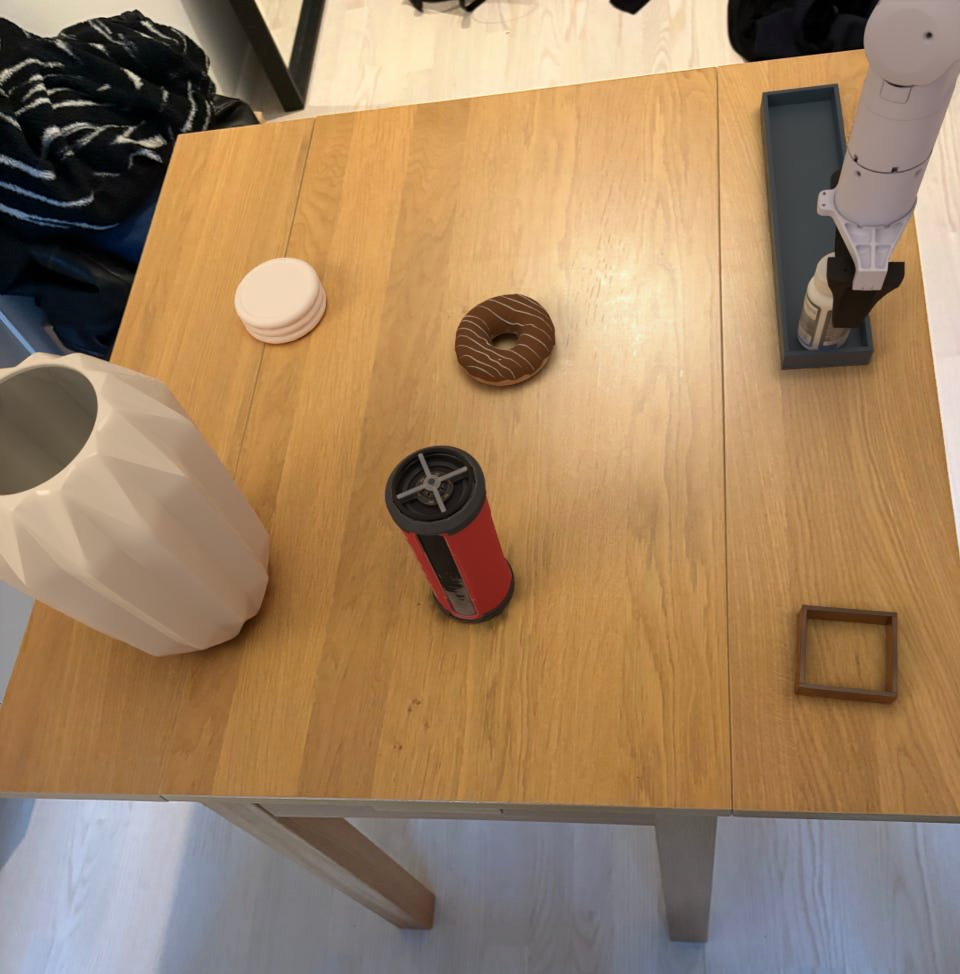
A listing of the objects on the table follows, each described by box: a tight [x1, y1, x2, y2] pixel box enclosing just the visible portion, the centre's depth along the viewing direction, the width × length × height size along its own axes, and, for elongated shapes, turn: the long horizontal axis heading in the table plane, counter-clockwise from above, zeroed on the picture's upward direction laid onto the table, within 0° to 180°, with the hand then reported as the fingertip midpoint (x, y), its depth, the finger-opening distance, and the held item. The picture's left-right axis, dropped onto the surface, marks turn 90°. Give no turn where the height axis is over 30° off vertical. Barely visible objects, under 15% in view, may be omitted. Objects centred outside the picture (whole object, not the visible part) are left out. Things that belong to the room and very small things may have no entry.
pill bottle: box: [797, 252, 850, 350], centre depth 76 cm, size 5×5×8 cm
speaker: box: [384, 444, 516, 623], centre depth 69 cm, size 8×8×18 cm
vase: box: [0, 351, 270, 658], centre depth 69 cm, size 20×20×28 cm
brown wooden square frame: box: [794, 604, 899, 705], centre depth 68 cm, size 7×7×2 cm
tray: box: [759, 82, 875, 370], centre depth 85 cm, size 37×8×2 cm, turn 176°
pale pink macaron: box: [233, 257, 327, 345], centre depth 93 cm, size 10×10×4 cm
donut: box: [454, 293, 557, 387], centre depth 85 cm, size 11×11×4 cm
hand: (846, 290), depth 71 cm, fingers open, 7 cm apart
